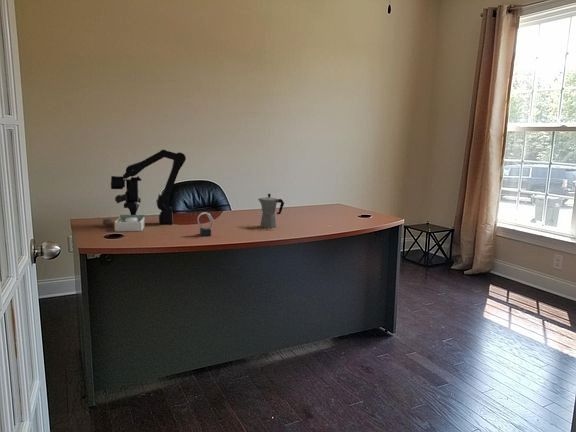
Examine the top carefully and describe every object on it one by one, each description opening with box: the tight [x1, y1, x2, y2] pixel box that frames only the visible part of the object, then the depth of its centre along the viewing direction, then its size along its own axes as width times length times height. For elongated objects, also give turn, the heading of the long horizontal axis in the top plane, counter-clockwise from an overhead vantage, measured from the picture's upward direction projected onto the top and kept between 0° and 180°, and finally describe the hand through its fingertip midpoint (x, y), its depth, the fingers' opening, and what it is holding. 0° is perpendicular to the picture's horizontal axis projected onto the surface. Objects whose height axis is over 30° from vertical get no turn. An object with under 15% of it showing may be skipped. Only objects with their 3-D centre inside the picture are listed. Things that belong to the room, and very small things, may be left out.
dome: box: [125, 217, 138, 222], centre depth 232 cm, size 6×6×2 cm
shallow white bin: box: [114, 216, 146, 232], centre depth 228 cm, size 12×16×4 cm
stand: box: [102, 218, 112, 228], centre depth 230 cm, size 4×4×4 cm
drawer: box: [119, 214, 146, 222], centre depth 229 cm, size 12×16×4 cm
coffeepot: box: [257, 193, 285, 229], centre depth 244 cm, size 15×9×18 cm, turn 66°
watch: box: [196, 212, 215, 237], centre depth 218 cm, size 6×8×11 cm
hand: (133, 218), depth 238 cm, fingers closed
